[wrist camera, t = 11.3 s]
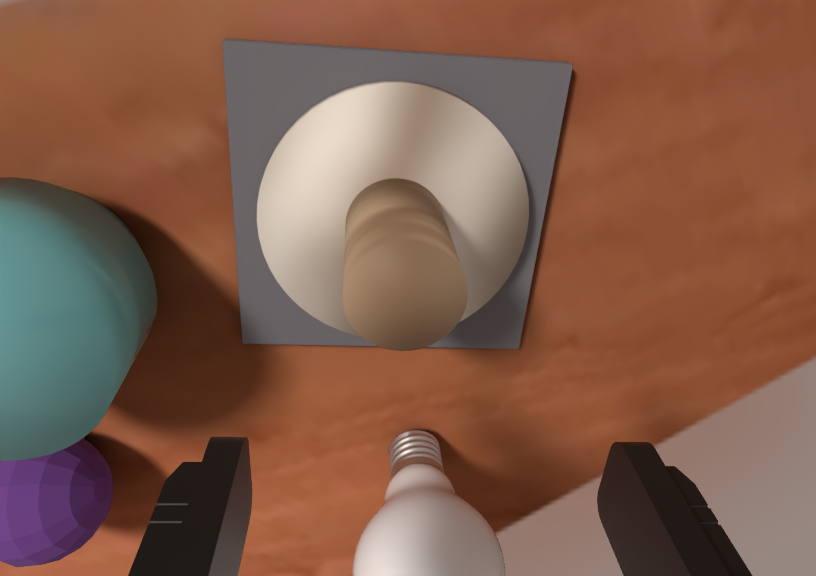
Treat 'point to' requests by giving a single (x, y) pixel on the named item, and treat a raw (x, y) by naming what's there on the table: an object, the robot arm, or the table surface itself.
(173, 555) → the robot arm
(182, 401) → the table surface
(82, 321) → the teal rounded dome
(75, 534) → the kendama
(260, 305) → the mat
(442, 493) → the lightbulb
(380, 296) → the lid
